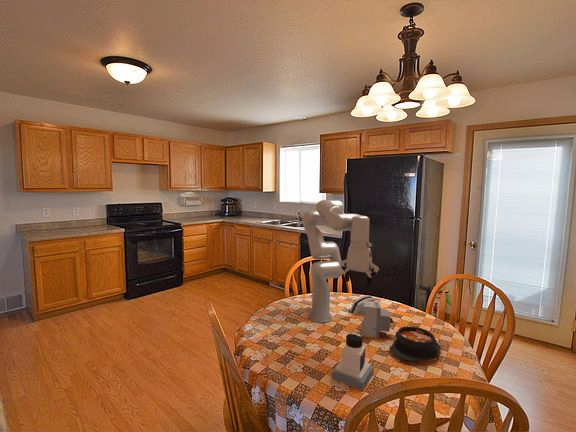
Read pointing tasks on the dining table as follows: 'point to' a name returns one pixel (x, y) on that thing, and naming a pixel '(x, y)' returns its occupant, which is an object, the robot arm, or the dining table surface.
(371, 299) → the grey curved block
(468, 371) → the dining table surface
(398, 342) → the casserole
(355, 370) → the medicine bottle
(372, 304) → the circuit breaker
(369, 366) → the stand
